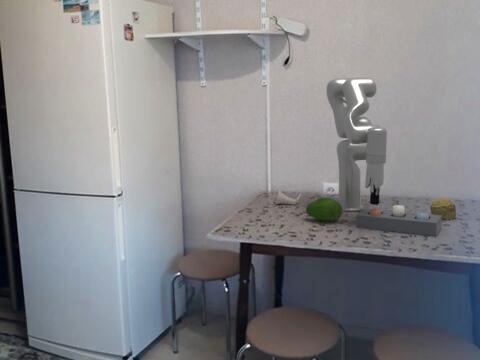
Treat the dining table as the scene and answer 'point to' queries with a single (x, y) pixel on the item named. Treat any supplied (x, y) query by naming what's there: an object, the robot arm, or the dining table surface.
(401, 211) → the white rounded oval piece
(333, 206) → the fruit
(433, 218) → the grey rectangular block
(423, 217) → the light blue rounded cylinder
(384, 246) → the dining table surface
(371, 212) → the brown egg
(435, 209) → the rock
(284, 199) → the toilet paper hanger
